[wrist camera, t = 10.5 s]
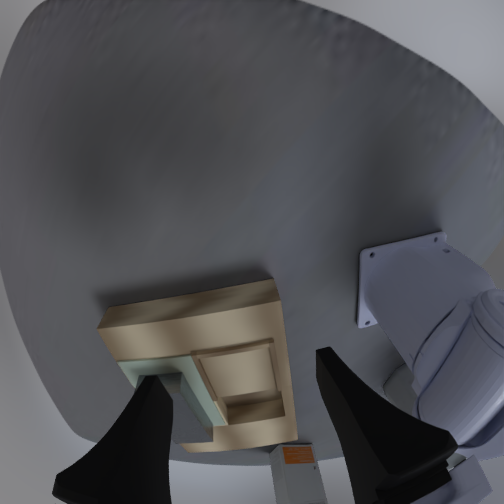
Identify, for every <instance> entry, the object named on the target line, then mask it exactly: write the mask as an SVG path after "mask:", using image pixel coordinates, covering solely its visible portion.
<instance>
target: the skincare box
mask: <svg viewBox="0 0 504 504" xmlns="http://www.w3.org/2000/svg"><path fill="white" fill-rule="evenodd" d="M269 457H270V463H271V470H272V477H273V482H274V490H275V496H276V502H277V504H328V503H327V498H326V494H325V490H324V486H323V483H322V478H321V474H320V470H319V467H318V462H317V459H316V455H315V451H314V447H313V444H309V445H283V444H279V445H278V446H277V447H276V448H275V449H274V450H273V451H272V452H271V453H270V454H269Z"/></svg>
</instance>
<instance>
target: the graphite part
mask: <svg viewBox="0 0 504 504" xmlns="http://www.w3.org/2000/svg"><path fill="white" fill-rule="evenodd" d="M152 375H157V376H158V377H159V379H160V380H161V382H162V384H163V385H164V387H165V388H166V390H167V392H168V393H169V395H170V396H171V398H172V399H173V426H172V434H171V439H172V440H173V441H174V442H175V443H176V444H181V443H205V442H213V423H212V422H211V420H210V419H209V417H208V415H207V414H206V412H205V411H204V409H203V407H202V406H201V404H200V402H199V401H198V399H197V397H196V395H195V394H194V392H193V390H192V389H191V387H190V385H189V383H188V381H187V380H186V378H185V376H184V374H183V372H175V373H165V374H152ZM152 375H139V377H138V380H137V384H136V388H135V392H136V390H137V389H138V387H139V385H140V384H141V382H142V381H143V379H144V378H145V376H152ZM135 392H134V393H135Z"/></svg>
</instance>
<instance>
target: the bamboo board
mask: <svg viewBox="0 0 504 504" xmlns="http://www.w3.org/2000/svg"><path fill="white" fill-rule="evenodd" d="M97 331H98V332H99V334H100V336H101V338H102V339H103V341H104V343H105V344H106V346H107V348H108V349H109V351H110V352H111V354H112V356H113V357H114V359H115V360H116V362H117V363H118V365H119V367H120V368H121V370H122V371H123V373H124V374H125V375H126V377H127V378H128V380H129V381H130V383H131V384H132V385H133V387H134V388H136V384H137V380H138V377H139V375H152V374H165V373H175V372H183V374H184V376H185V378H186V380H187V381H188V383H189V385H190V387H191V389H192V390H193V392H194V394H195V395H196V397H197V399H198V401H199V402H200V404H201V406H202V407H203V409H204V411H205V412H206V414H207V415H208V417H209V419H210V420H211V422H212V423H213V442H205V443H181V446H182V447H183V448H184V449H185V450H186V451H187V452H188V453H190V452H213V451H226V450H237V449H245V448H253V447H260V446H267V445H273V444H278V443H283V442H289V441H293V440H298V436H297V426H296V417H295V408H294V400H293V391H292V383H291V375H290V367H289V359H288V351H287V343H286V335H285V328H284V320H283V313H282V306H281V300H280V297H279V293H278V290H277V287H276V284H275V281H274V278H273V279H268V280H263V281H258V282H253V283H247V284H242V285H237V286H232V287H226V288H221V289H215V290H210V291H204V292H199V293H193V294H187V295H182V296H176V297H170V298H164V299H158V300H152V301H145V302H139V303H133V304H126V305H119V306H113V307H108V309H107V311H106V313H105V315H104V316H103V318H102V320H101V322H100V324H99V325H98V327H97Z"/></svg>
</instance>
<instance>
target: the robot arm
mask: <svg viewBox="0 0 504 504" xmlns="http://www.w3.org/2000/svg"><path fill="white" fill-rule="evenodd" d="M434 239H435V240H434ZM372 252H373V254H372V256H370V254H371V253H372ZM367 321H368V322H367ZM377 323H379V325H380V326H381V328H382V329H383V330H384V332H385V333H386V335H387V336H388V338H389V339H390V341H391V342H392V343H393V345H394V346H395V348H396V349H397V351H398V352H399V354H400V355H401V357H402V358H403V360H404V361H405V363H406V364H407V366H408V367H409V369H410V370H411V372H412V373H413V375H414V381H413V383H412V385H411V386H412V388H413V389H414V391H415V393H416V394H417V398H416V400H415V402H414V404H413V409H412V415H410V414H408V413H406V412H404V411H402V410H400V409H399V408H397V407H396V406H394V405H393V404H391V403H390V402H388V401H387V400H385V399H384V398H382V397H381V396H380V395H378V394H377V393H376V392H375V391H373V390H372V389H371V388H370V387H369V386H368V385H366V384H365V383H364V382H363V381H362V380H361V379H360V378H359V377H358V376H357V375H356V374H355V373H354V372H353V371H352V370H351V369H350V368H349V367H348V366H347V365H346V364H345V363H344V362H343V361H342V360H341V359H340V358H339V356H338V355H337V354H336V353H335V352H334V350H333V349H332V348H331V347H325V348H322V349H318V350H316V378H317V382H318V386H319V389H320V392H321V396H322V399H323V401H324V403H325V406H326V408H327V411H328V413H329V415H330V418H331V420H332V423H333V425H334V427H335V430H336V432H337V435H338V437H339V440H340V443H341V447H342V450H343V454H344V457H345V461H346V465H347V469H348V473H349V477H350V481H351V486H352V490H353V495H354V500H355V504H478V503H480V502H481V501H482V500H483V499H485V498H486V497H487V496H488V495H490V494H491V493H492V491H493V490H492V488H491V486H490V484H489V482H488V480H487V478H486V476H485V474H484V472H483V470H482V468H481V466H480V464H479V462H478V461H482V460H488V459H492V458H496V457H500V456H504V290H501V289H496V288H495V285H494V283H493V280H492V279H491V277H490V275H489V274H488V273H487V272H486V271H485V270H484V269H483V268H482V267H480V266H479V265H478V264H476V263H475V262H473V261H472V260H471V259H469V258H468V257H466V256H465V255H463V254H462V253H460V252H459V251H457V250H456V249H454V248H453V247H451V246H450V245H448V244H447V243H446V233H444V232H442V231H441V232H437V233H433V234H429V235H425V236H420V237H416V238H412V239H407V240H403V241H399V242H394V243H390V244H385V245H381V246H376V247H372V248H367V249H364V250H362V251H361V253H360V270H359V297H358V314H357V326H358V327H359V328H364V327H368V326H371V325H374V324H377ZM172 426H173V399H172V398H171V396H170V395H169V393H168V392H167V390H166V388H165V387H164V385H163V384H162V382H161V380H160V379H159V377H158V376H157V375H152V376H145V378H144V379H143V381H142V382H141V384H140V385H139V387H138V389H137V390H136V392H135V393H134V395H133V397H132V398H131V400H130V401H129V403H128V404H127V406H126V407H125V409H124V410H123V412H122V413H121V415H120V416H119V418H118V419H117V420H116V422H115V423H114V424H113V426H112V427H111V428H110V430H109V431H108V432H107V433H106V434H105V436H104V437H103V438H102V439H101V440H100V441H99V442H98V443H97V444H96V445H95V446H94V447H93V448H92V449H91V450H90V451H89V452H88V453H87V454H86V455H84V456H83V457H82V458H81V459H79V460H78V461H77V462H76V463H74V464H73V465H71V466H70V467H68V468H67V469H65V470H64V471H62V472H60V473H58V474H57V475H56V479H55V483H54V487H53V491H52V494H53V496H54V497H56V498H58V499H59V500H61V501H63V502H65V503H67V504H172V503H171V496H170V486H169V452H170V443H171V434H172ZM453 453H458V454H461V455H463V456H465V457H467V458H468V459H466V460H465V461H464V462H462V463H461V464H459V465H458V466H456V467H455V468H453V469H452V470H450V471H449V472H448V470H447V467H448V466H449V464H448V462H447V459H448V458H449V457H450V456H451V455H452V454H453Z"/></svg>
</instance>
